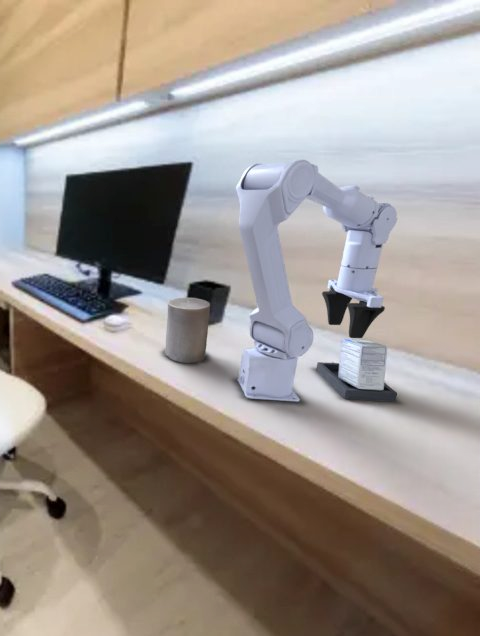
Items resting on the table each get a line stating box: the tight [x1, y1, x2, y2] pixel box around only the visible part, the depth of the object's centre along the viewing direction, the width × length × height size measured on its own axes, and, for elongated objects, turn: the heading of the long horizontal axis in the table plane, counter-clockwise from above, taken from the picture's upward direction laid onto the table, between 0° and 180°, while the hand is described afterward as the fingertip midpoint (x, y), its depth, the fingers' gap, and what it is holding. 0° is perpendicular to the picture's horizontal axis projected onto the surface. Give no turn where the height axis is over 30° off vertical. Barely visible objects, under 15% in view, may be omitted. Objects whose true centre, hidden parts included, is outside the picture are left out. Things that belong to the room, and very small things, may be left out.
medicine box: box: [338, 338, 388, 391], centre depth 76 cm, size 8×4×9 cm, turn 166°
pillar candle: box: [164, 297, 211, 364], centre depth 93 cm, size 10×10×15 cm
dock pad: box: [315, 361, 399, 403], centre depth 78 cm, size 9×13×2 cm
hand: (344, 330), depth 79 cm, fingers open, 7 cm apart
